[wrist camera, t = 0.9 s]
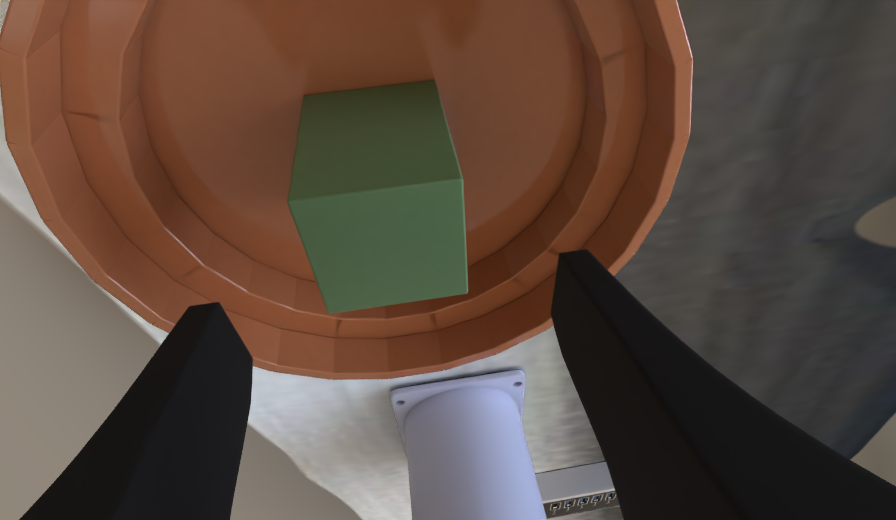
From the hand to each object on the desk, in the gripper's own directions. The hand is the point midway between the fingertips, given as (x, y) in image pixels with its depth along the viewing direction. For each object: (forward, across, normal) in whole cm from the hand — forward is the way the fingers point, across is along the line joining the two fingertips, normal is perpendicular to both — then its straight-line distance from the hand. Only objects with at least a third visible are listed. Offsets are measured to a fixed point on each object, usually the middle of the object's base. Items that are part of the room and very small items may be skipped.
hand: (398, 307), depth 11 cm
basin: (+8, 0, +1) cm, 8 cm away
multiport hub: (+9, -12, +36) cm, 39 cm away
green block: (+8, 0, +1) cm, 8 cm away
